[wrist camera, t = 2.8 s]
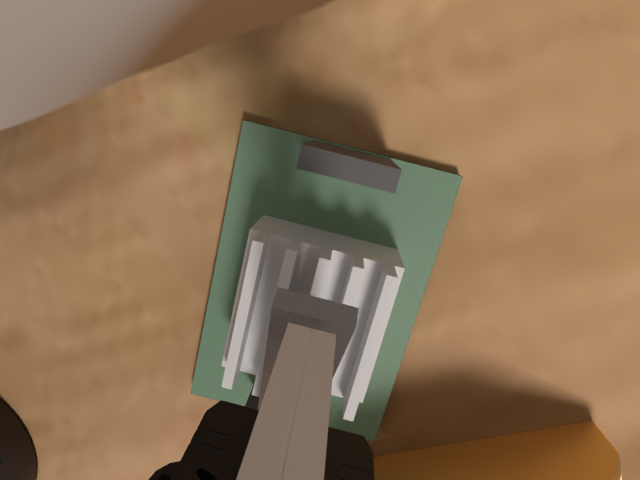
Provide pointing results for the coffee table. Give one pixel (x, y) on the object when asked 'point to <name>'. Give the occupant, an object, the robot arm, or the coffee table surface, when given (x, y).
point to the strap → (306, 325)
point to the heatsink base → (321, 262)
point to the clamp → (511, 458)
